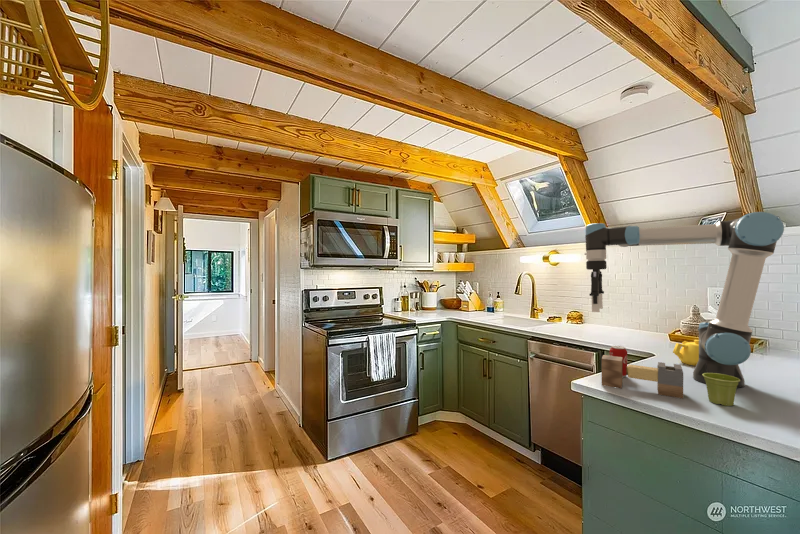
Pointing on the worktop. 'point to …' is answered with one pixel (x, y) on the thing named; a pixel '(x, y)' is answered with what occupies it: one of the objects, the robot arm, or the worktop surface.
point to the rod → (642, 372)
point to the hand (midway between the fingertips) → (597, 310)
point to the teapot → (688, 352)
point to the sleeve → (670, 380)
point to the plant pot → (721, 388)
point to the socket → (612, 371)
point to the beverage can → (620, 352)
